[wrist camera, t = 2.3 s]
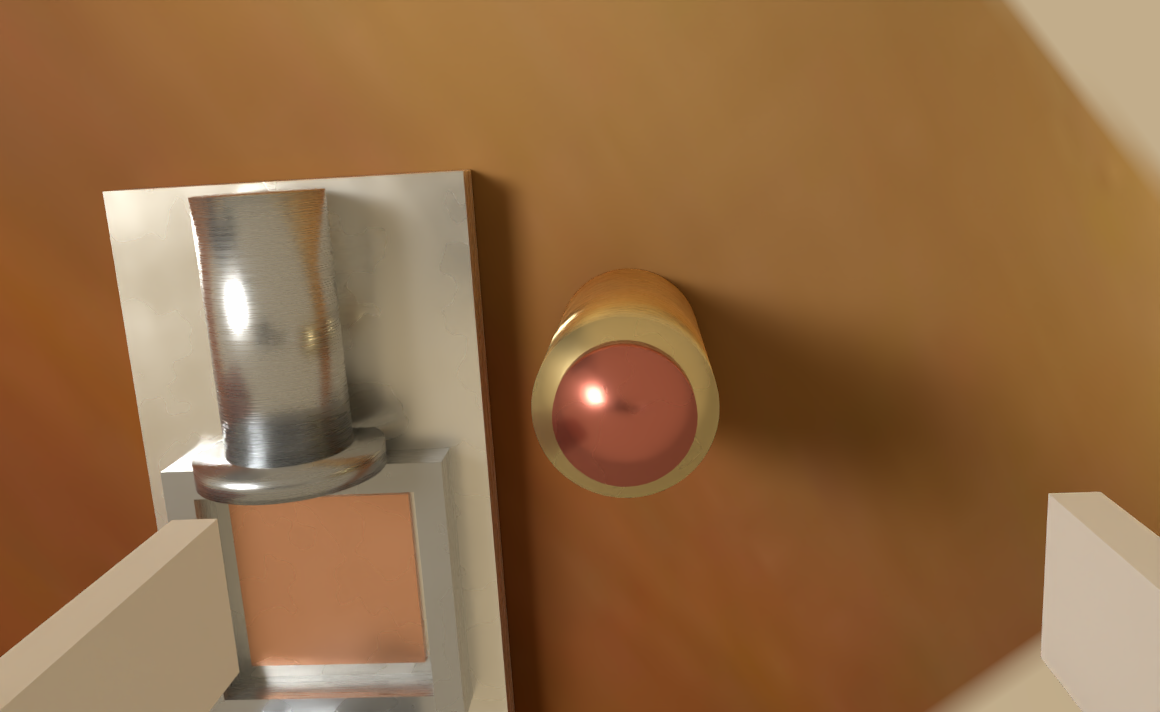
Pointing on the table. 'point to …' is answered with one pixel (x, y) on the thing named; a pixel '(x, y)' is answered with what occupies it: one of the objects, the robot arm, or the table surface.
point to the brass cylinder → (626, 387)
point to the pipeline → (326, 430)
